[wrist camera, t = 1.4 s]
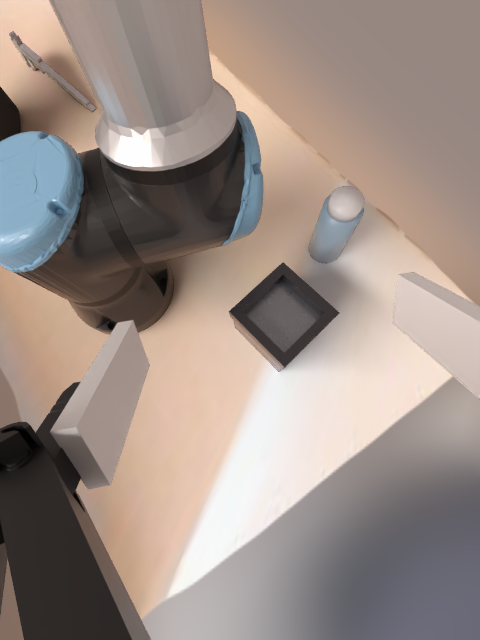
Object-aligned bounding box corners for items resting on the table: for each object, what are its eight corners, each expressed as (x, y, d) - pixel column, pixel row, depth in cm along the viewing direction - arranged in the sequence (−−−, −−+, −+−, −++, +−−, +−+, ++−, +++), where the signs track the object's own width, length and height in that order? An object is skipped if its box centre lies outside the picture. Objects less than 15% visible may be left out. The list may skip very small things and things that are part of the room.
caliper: (29, 68, 60) (3, 31, 54) (33, 65, 61) (8, 27, 55) (93, 113, 56) (73, 78, 50) (97, 110, 56) (78, 75, 50)
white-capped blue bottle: (302, 248, 46) (317, 200, 35) (323, 229, 47) (345, 175, 36) (325, 269, 45) (349, 225, 34) (347, 248, 46) (377, 199, 35)
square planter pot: (233, 327, 43) (228, 311, 36) (277, 286, 45) (282, 262, 37) (278, 373, 41) (284, 367, 33) (323, 328, 43) (339, 312, 35)
